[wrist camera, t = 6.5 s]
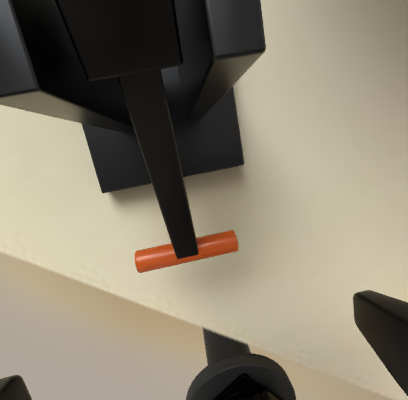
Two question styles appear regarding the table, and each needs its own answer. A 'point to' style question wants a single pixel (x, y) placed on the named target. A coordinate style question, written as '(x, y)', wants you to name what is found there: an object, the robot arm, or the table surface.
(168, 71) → the bracket
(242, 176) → the table surface
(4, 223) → the table surface
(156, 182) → the lever
